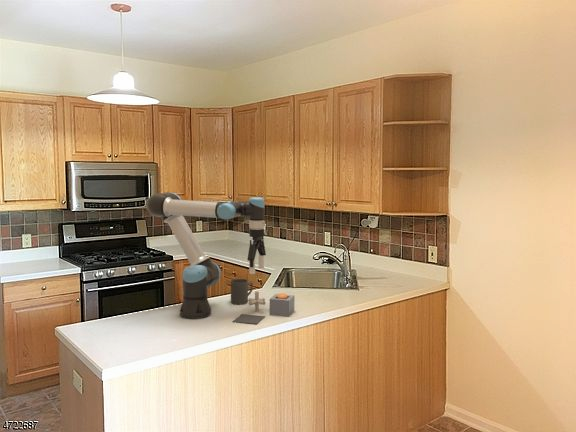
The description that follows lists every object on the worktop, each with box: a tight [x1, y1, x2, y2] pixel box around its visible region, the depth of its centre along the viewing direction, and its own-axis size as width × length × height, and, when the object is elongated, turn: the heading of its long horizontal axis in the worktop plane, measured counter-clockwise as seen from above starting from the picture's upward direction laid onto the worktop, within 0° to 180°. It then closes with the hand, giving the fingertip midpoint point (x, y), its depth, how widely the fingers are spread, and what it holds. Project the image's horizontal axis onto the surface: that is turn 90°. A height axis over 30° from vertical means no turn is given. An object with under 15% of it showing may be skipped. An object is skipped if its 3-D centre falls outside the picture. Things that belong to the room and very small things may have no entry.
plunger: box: [276, 293, 288, 299], centre depth 244 cm, size 5×5×2 cm
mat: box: [232, 313, 266, 326], centre depth 234 cm, size 12×12×1 cm
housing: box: [269, 293, 296, 317], centre depth 245 cm, size 10×10×8 cm
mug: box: [230, 278, 254, 306], centre depth 264 cm, size 14×9×12 cm
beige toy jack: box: [248, 291, 266, 313], centre depth 247 cm, size 10×10×10 cm
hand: (256, 270), depth 246 cm, fingers open, 13 cm apart
